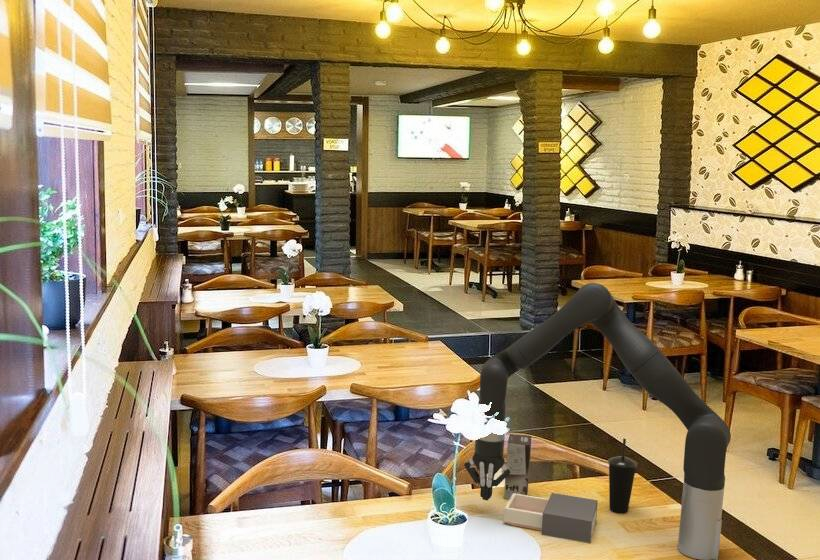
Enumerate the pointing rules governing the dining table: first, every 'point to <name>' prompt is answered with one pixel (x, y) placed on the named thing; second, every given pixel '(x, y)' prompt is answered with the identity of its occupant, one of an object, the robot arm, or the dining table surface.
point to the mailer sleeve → (569, 517)
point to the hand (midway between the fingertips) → (485, 499)
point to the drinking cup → (621, 481)
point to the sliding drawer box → (528, 511)
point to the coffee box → (518, 465)
